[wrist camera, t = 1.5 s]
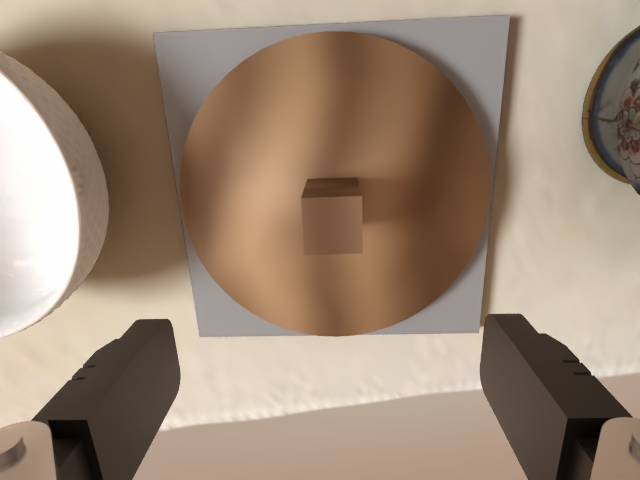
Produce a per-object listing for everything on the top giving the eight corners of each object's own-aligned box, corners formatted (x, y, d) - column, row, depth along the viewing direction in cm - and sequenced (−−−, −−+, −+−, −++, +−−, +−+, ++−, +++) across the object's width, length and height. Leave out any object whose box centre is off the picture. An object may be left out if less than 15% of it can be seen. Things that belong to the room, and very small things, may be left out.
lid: (499, 25, 23) (554, 1, 17) (472, 326, 29) (505, 382, 23) (162, 42, 24) (108, 24, 18) (205, 331, 30) (175, 385, 24)
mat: (504, 17, 23) (510, 14, 23) (475, 327, 30) (478, 333, 29) (158, 34, 24) (152, 32, 24) (202, 331, 31) (199, 337, 30)
